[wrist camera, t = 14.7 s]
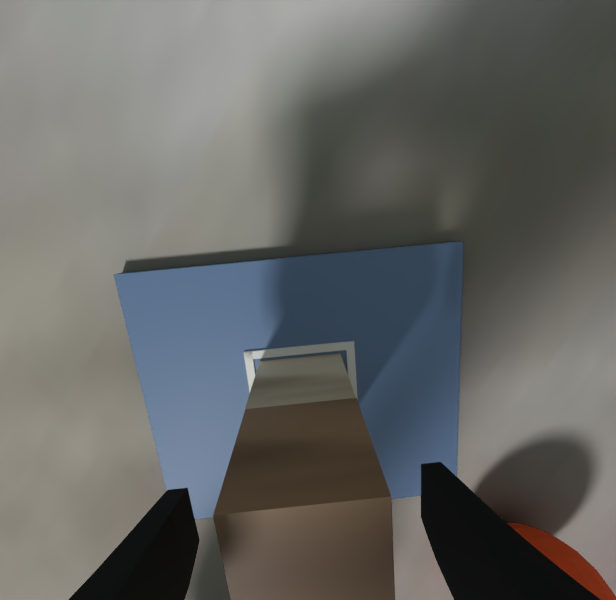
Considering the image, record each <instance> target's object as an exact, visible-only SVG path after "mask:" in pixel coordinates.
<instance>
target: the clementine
mask: <svg viewBox="0 0 616 600" xmlns="http://www.w3.org/2000/svg"><path fill="white" fill-rule="evenodd" d="M508 524H509V525H510V526H511V527H512V528H513V529H514V530H515V531H517V532H518V533H519V534H520V535H521V536H522V537H524V538H525V539H526V540H527V541H528V542H529V543H531V544H532V545H533V546H534V547H535V548H536V549H538V550H539V551H540V552H541V553H542V554H544V555H545V556H546V557H547V558H549V559H550V560H551V561H552V562H553V563H555V564H556V565H557V566H558V567H559V568H561V569H562V570H563V571H564V572H566V573H567V574H568V575H570V576H571V577H572V578H573V579H575V580H576V581H577V582H578V583H580V584H581V585H582V586H583V587H585V588H586V589H587V590H589V591H590V592H591V593H593V594H594V595H595V596H597V597H598V598H599V599H601V600H616V596H615V595H614V593H613V592H612V590H611V589H610V588H609V586H608V585H607V584H606V582H605V581H604V580H603V578H602V577H601V576H600V574H599V573H598V571H597V570H596V569H595V568H594V567H593V566H592V565H591V564H590V563H589V562H587V561H586V560H585V559H584V558H583V557H582V556H581V555H580V554H579V553H578V552H577V551H575V550H574V549H573V548H571V547H570V546H568V545H567V544H565V543H564V542H562V541H561V540H559V539H558V538H556V537H555V536H553V535H551V534H550V533H548V532H545V531H542V530H540V529H537V528H534V527H531V526H528V525H525V524H521V523H508Z"/></svg>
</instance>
